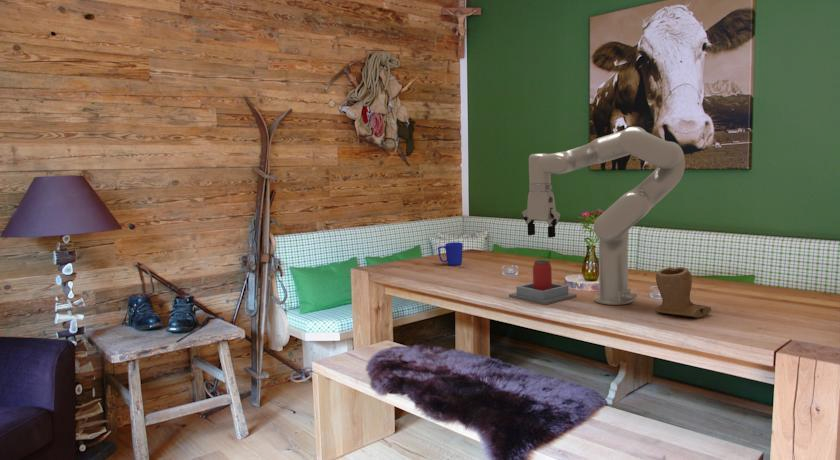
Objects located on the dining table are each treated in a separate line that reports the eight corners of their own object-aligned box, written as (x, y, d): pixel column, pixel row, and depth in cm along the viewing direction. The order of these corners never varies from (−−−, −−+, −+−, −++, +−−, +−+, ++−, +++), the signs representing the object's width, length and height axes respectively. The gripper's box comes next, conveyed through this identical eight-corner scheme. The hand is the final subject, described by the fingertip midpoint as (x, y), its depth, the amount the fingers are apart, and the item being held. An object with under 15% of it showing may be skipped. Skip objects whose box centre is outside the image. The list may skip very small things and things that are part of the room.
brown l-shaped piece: (648, 315, 209) (647, 268, 207) (666, 307, 217) (666, 262, 215) (695, 323, 198) (695, 274, 196) (712, 315, 206) (713, 267, 204)
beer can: (551, 296, 235) (551, 263, 234) (533, 296, 237) (532, 263, 235) (551, 292, 242) (551, 260, 240) (533, 292, 243) (532, 260, 241)
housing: (576, 297, 237) (576, 286, 236) (545, 305, 227) (545, 293, 227) (539, 289, 251) (539, 279, 251) (508, 296, 242) (508, 286, 241)
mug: (436, 264, 314) (435, 244, 312) (459, 262, 317) (459, 241, 316) (441, 267, 306) (440, 246, 304) (466, 265, 309) (465, 244, 308)
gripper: (566, 188, 230) (567, 236, 232) (529, 187, 244) (531, 233, 246) (551, 189, 225) (552, 239, 228) (515, 188, 239) (516, 235, 241)
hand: (541, 236), depth 237 cm, fingers open, 9 cm apart
